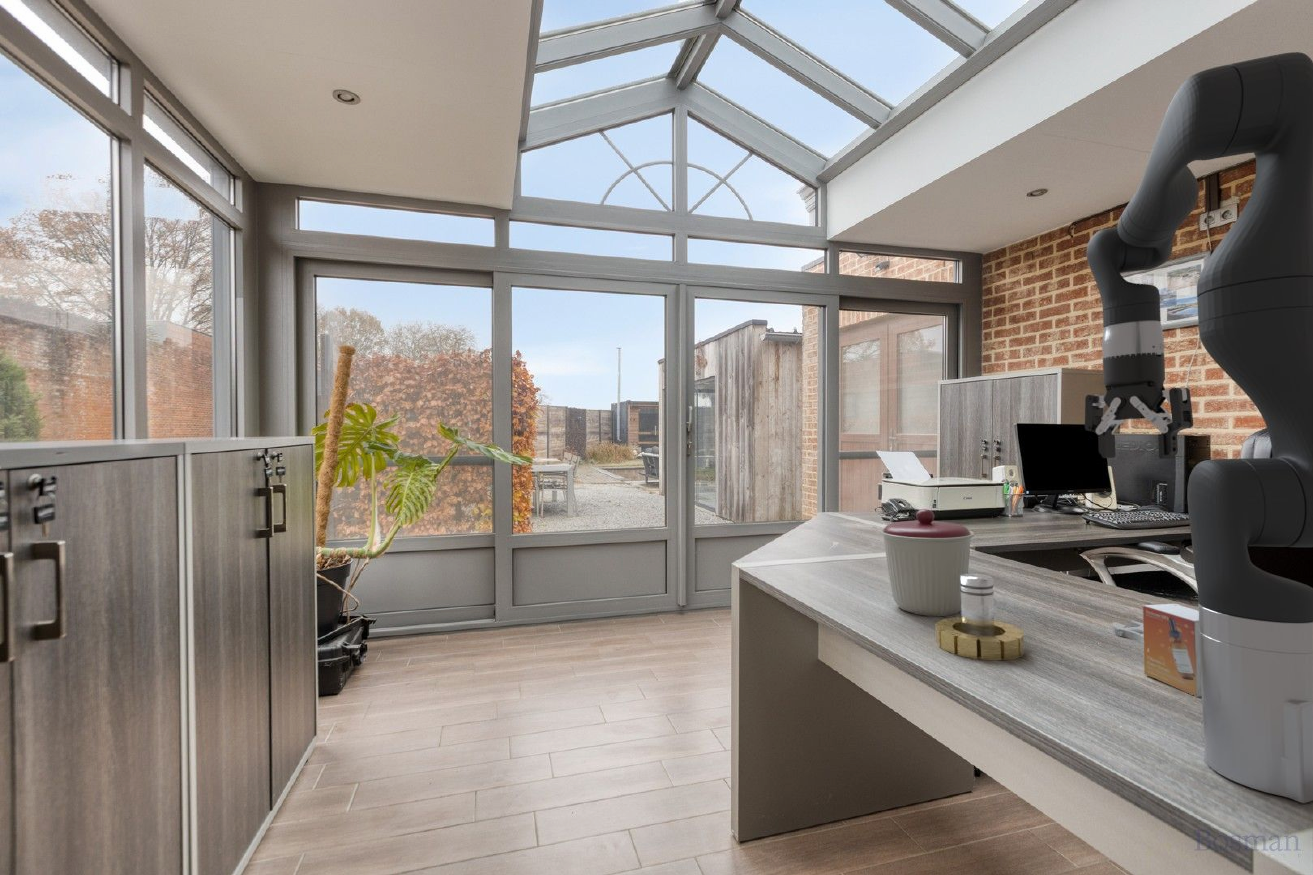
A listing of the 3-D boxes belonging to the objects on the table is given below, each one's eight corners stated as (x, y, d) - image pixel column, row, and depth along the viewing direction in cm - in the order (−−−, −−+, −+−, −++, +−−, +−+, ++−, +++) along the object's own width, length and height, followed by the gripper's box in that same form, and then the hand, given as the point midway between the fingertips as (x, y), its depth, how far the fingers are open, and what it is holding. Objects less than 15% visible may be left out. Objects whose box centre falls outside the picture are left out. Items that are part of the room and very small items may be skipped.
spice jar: (1002, 649, 101) (1000, 578, 102) (979, 653, 100) (976, 581, 100) (978, 639, 106) (976, 572, 106) (955, 643, 105) (952, 575, 105)
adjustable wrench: (1216, 685, 86) (1216, 673, 86) (1161, 680, 88) (1160, 668, 88) (1148, 631, 109) (1148, 621, 109) (1105, 628, 112) (1105, 618, 112)
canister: (874, 597, 136) (871, 505, 136) (959, 598, 133) (955, 503, 133) (893, 622, 118) (889, 515, 118) (992, 623, 115) (987, 514, 116)
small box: (1143, 675, 89) (1140, 604, 89) (1177, 672, 90) (1174, 602, 90) (1196, 698, 81) (1193, 620, 81) (1234, 694, 82) (1231, 617, 82)
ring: (1043, 653, 99) (1042, 635, 99) (979, 664, 95) (978, 645, 95) (978, 630, 112) (977, 614, 112) (920, 639, 108) (919, 622, 108)
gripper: (1070, 360, 99) (1074, 458, 99) (1166, 346, 85) (1170, 460, 85) (1104, 360, 101) (1107, 456, 101) (1202, 347, 87) (1206, 458, 87)
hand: (1136, 458), depth 93 cm, fingers open, 8 cm apart
